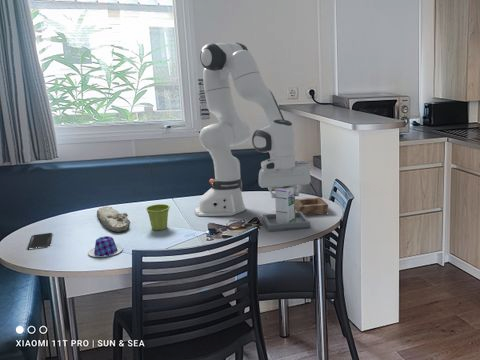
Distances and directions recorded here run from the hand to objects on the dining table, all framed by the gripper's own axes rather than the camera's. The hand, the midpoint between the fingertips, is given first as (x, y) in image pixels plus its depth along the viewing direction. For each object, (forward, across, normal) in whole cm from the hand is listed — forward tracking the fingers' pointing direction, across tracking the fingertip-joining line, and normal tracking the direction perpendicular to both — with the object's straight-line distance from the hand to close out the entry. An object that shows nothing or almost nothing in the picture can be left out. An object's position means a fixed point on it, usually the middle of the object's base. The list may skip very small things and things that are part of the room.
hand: (285, 196), depth 191 cm
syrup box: (+11, 0, 0) cm, 11 cm away
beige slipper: (+12, +71, -22) cm, 75 cm away
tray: (+11, 0, 0) cm, 11 cm away
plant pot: (+11, +50, -8) cm, 52 cm away
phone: (+11, +95, -3) cm, 96 cm away
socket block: (+11, -14, -15) cm, 23 cm away
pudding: (+12, +68, +14) cm, 70 cm away
